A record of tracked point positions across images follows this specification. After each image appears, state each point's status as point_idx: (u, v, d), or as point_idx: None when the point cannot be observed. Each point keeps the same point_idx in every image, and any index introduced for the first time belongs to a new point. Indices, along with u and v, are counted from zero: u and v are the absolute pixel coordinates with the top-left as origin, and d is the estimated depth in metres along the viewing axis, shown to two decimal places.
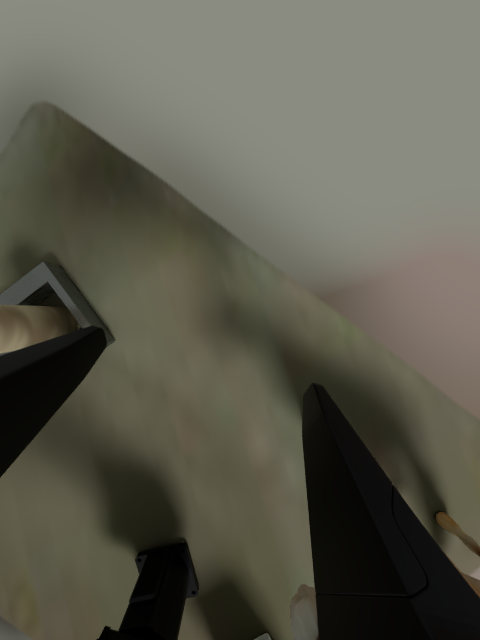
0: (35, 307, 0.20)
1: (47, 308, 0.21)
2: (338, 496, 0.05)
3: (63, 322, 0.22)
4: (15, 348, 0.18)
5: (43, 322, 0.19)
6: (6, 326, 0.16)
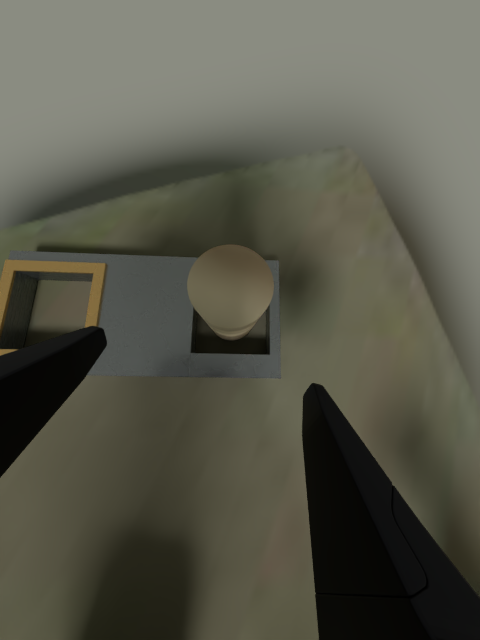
0: None
1: None
2: (338, 496, 0.05)
3: None
4: (230, 335, 0.14)
5: None
6: None
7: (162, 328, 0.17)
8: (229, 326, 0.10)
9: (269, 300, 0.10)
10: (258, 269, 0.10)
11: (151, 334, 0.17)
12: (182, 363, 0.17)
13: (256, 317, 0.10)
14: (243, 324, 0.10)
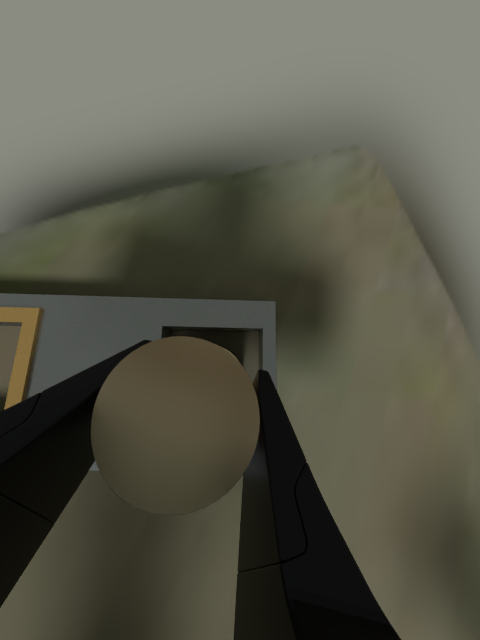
0: None
1: None
2: (257, 475, 0.05)
3: None
4: None
5: None
6: None
7: None
8: (170, 512, 0.05)
9: (250, 453, 0.05)
10: (230, 387, 0.05)
11: None
12: None
13: (224, 492, 0.05)
14: (198, 506, 0.05)
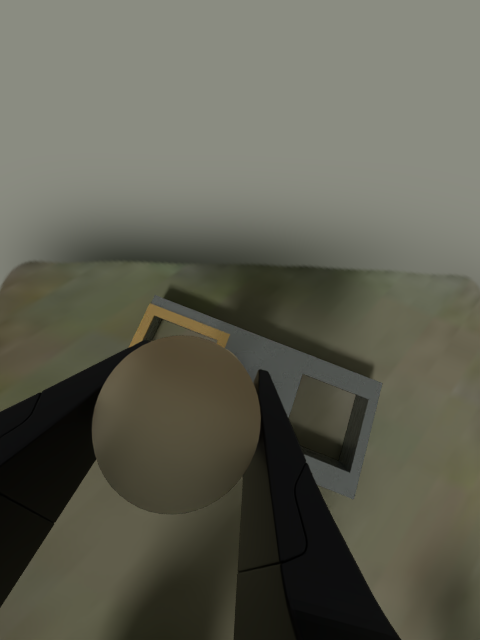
0: None
1: None
2: (257, 474, 0.05)
3: None
4: None
5: None
6: None
7: None
8: (171, 511, 0.05)
9: (251, 452, 0.05)
10: (231, 386, 0.05)
11: None
12: None
13: (225, 491, 0.05)
14: (199, 505, 0.05)
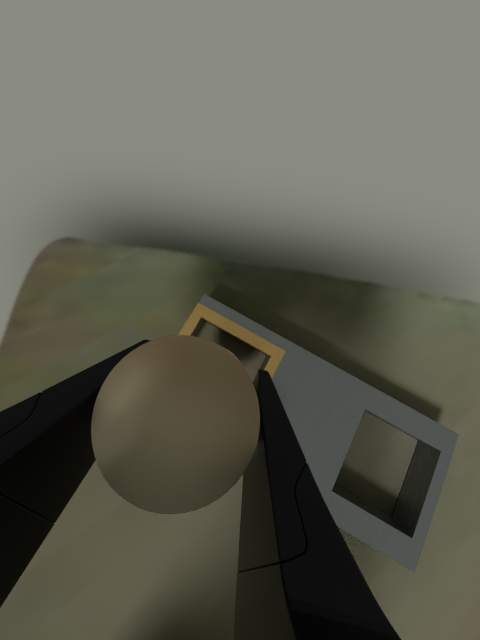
0: None
1: None
2: (257, 475, 0.05)
3: None
4: None
5: None
6: None
7: (313, 448, 0.16)
8: (170, 510, 0.05)
9: (251, 452, 0.05)
10: (231, 385, 0.05)
11: None
12: None
13: (224, 490, 0.05)
14: (199, 504, 0.05)
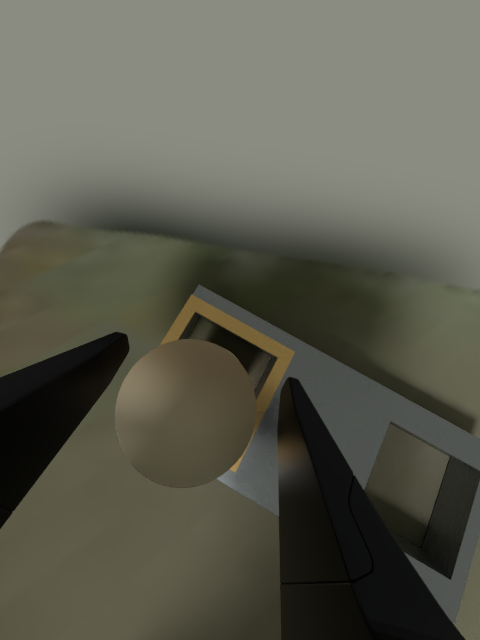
0: None
1: None
2: (301, 486, 0.05)
3: None
4: None
5: None
6: None
7: None
8: (182, 485, 0.06)
9: (248, 437, 0.06)
10: (232, 381, 0.06)
11: None
12: None
13: (226, 468, 0.06)
14: (205, 480, 0.06)
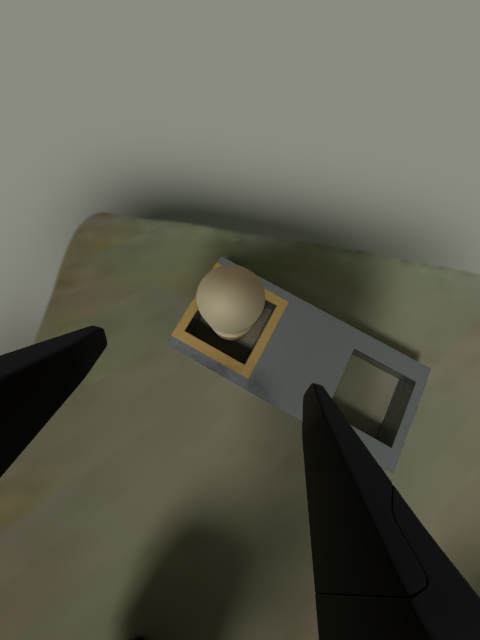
0: None
1: None
2: (338, 496, 0.05)
3: None
4: (231, 336, 0.16)
5: None
6: None
7: (311, 378, 0.20)
8: (229, 330, 0.12)
9: (261, 310, 0.12)
10: (253, 284, 0.13)
11: (301, 379, 0.20)
12: None
13: (251, 323, 0.12)
14: (241, 329, 0.12)
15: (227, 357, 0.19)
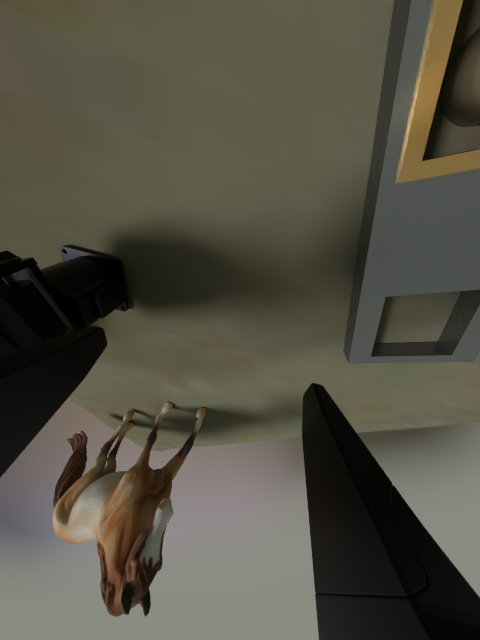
0: None
1: None
2: (338, 496, 0.05)
3: None
4: None
5: None
6: None
7: (425, 263, 0.15)
8: None
9: None
10: None
11: (420, 252, 0.14)
12: (375, 291, 0.16)
13: None
14: None
15: (429, 118, 0.11)
